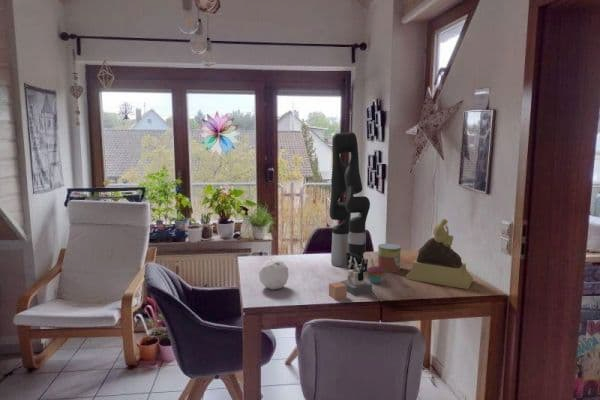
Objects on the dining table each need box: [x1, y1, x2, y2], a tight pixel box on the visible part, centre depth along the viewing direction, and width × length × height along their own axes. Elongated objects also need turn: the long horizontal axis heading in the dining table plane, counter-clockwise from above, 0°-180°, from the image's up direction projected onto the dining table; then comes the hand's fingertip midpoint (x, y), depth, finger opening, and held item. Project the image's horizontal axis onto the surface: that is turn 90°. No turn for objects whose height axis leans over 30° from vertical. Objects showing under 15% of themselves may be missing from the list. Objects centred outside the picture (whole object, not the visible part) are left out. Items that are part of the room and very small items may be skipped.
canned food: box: [377, 243, 402, 273], centre depth 224 cm, size 11×11×12 cm
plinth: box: [340, 279, 373, 295], centre depth 195 cm, size 10×10×3 cm
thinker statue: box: [405, 218, 474, 290], centre depth 206 cm, size 28×13×30 cm, turn 60°
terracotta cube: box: [328, 281, 348, 301], centre depth 186 cm, size 6×6×6 cm
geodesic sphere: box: [258, 258, 290, 290], centre depth 196 cm, size 14×14×14 cm
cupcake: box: [365, 258, 386, 284], centre depth 205 cm, size 9×8×12 cm
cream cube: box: [347, 268, 366, 286], centre depth 194 cm, size 6×6×6 cm
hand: (356, 278), depth 195 cm, fingers open, 6 cm apart
